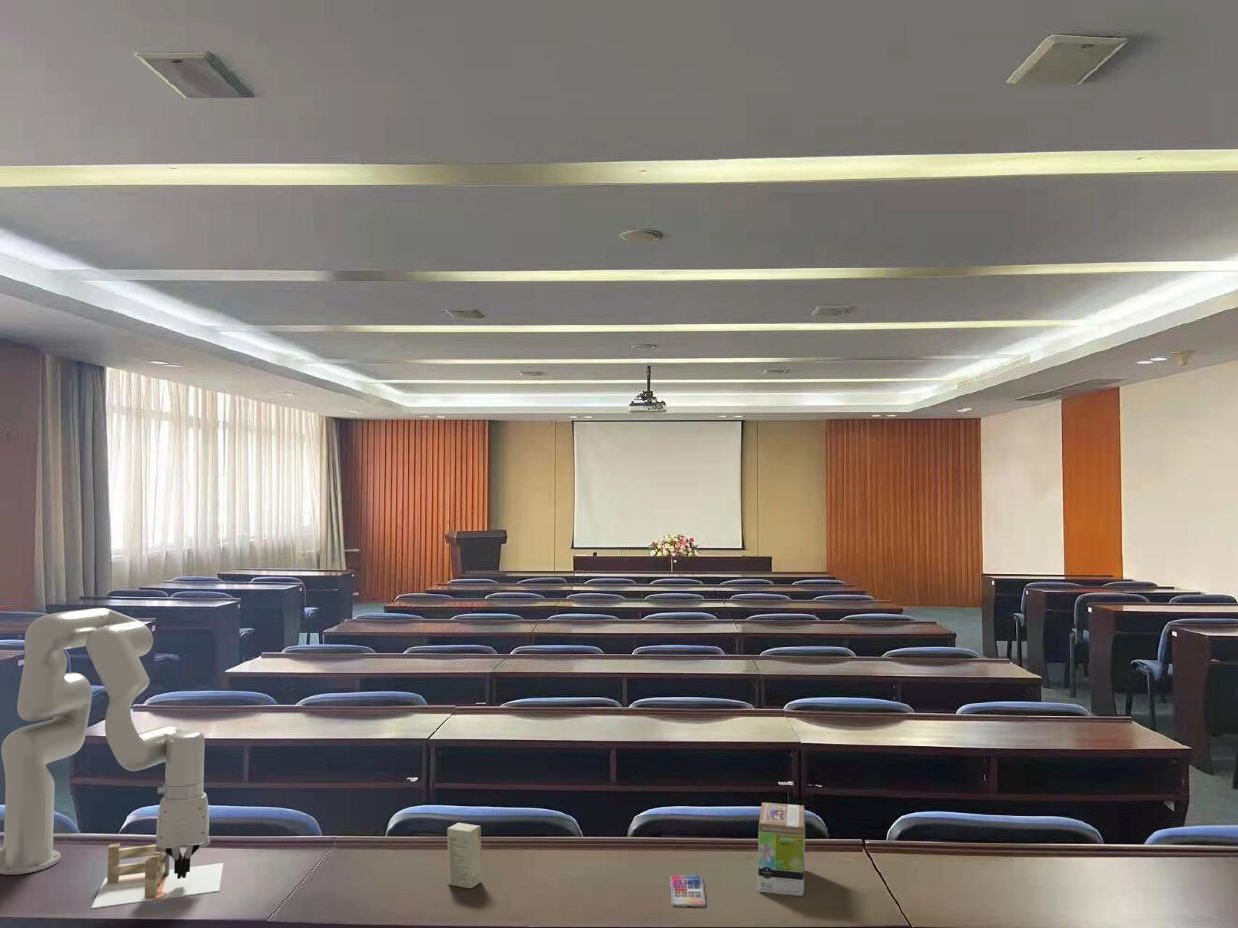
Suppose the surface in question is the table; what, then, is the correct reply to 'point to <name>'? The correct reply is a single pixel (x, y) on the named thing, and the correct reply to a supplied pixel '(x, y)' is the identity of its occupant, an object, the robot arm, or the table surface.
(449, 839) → the skincare box
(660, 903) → the table surface
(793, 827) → the tea box
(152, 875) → the fence gate
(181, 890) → the card
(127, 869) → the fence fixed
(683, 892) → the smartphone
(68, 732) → the robot arm
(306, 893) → the table surface
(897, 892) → the table surface
